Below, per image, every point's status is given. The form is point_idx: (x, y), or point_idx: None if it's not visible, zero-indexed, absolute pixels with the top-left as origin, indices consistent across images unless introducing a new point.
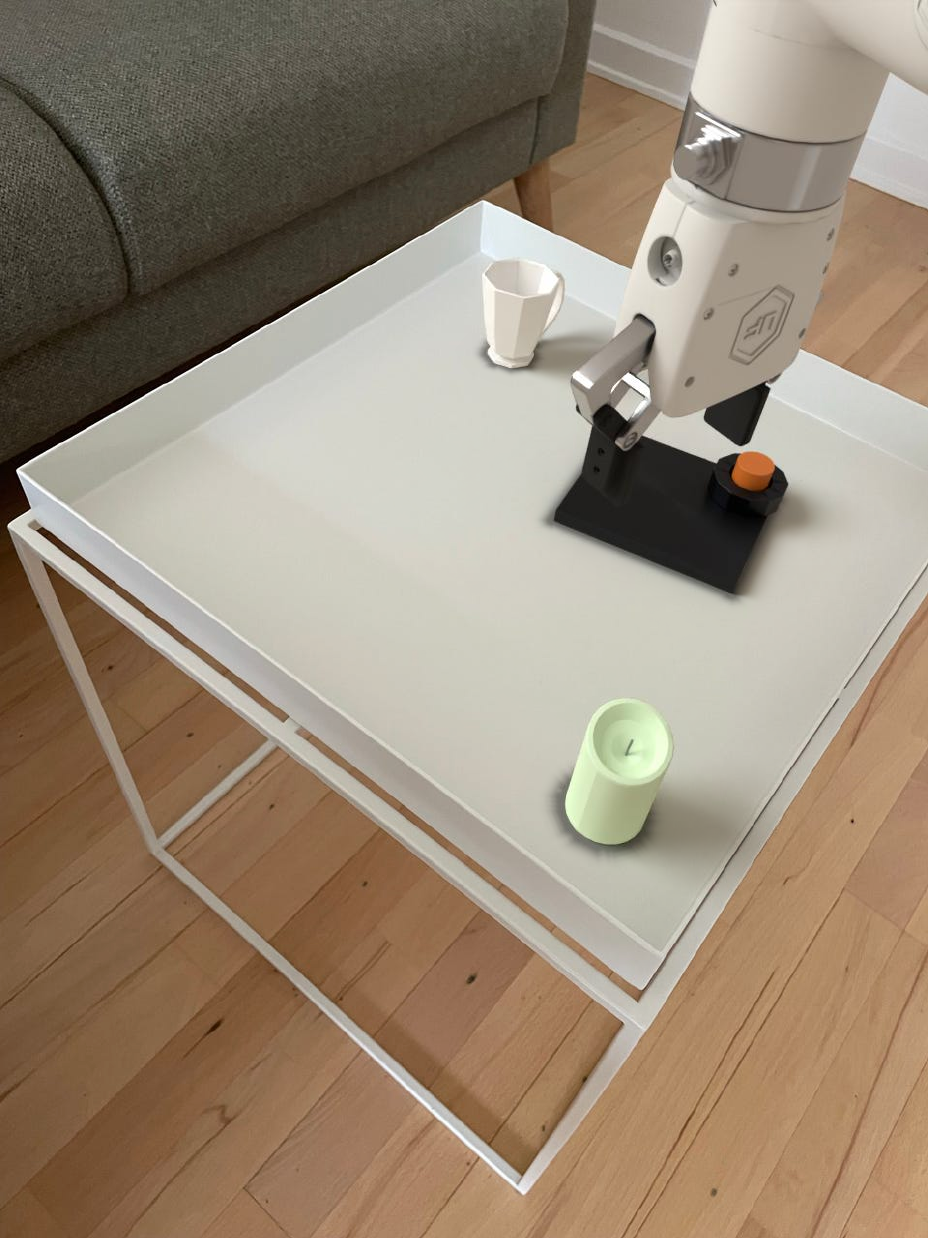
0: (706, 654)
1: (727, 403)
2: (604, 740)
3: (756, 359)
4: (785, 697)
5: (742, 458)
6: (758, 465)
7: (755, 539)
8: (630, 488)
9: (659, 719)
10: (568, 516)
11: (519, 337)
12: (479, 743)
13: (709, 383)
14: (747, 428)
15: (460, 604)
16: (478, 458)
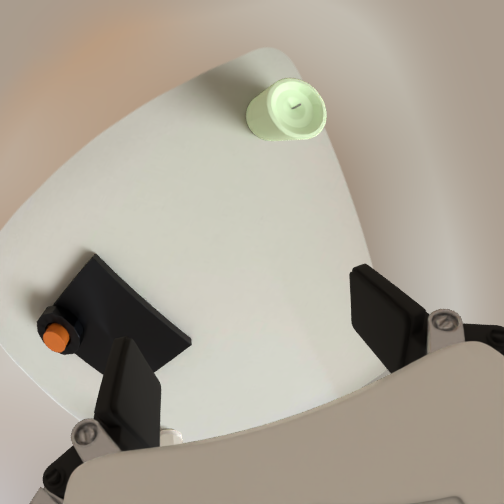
0: (137, 207)
1: (145, 400)
2: (308, 120)
3: None
4: (103, 158)
5: (61, 348)
6: (52, 340)
7: (66, 289)
8: (373, 276)
9: (272, 109)
10: (184, 338)
11: (172, 444)
12: (317, 188)
13: (458, 419)
14: (123, 357)
15: (279, 289)
16: (216, 385)
